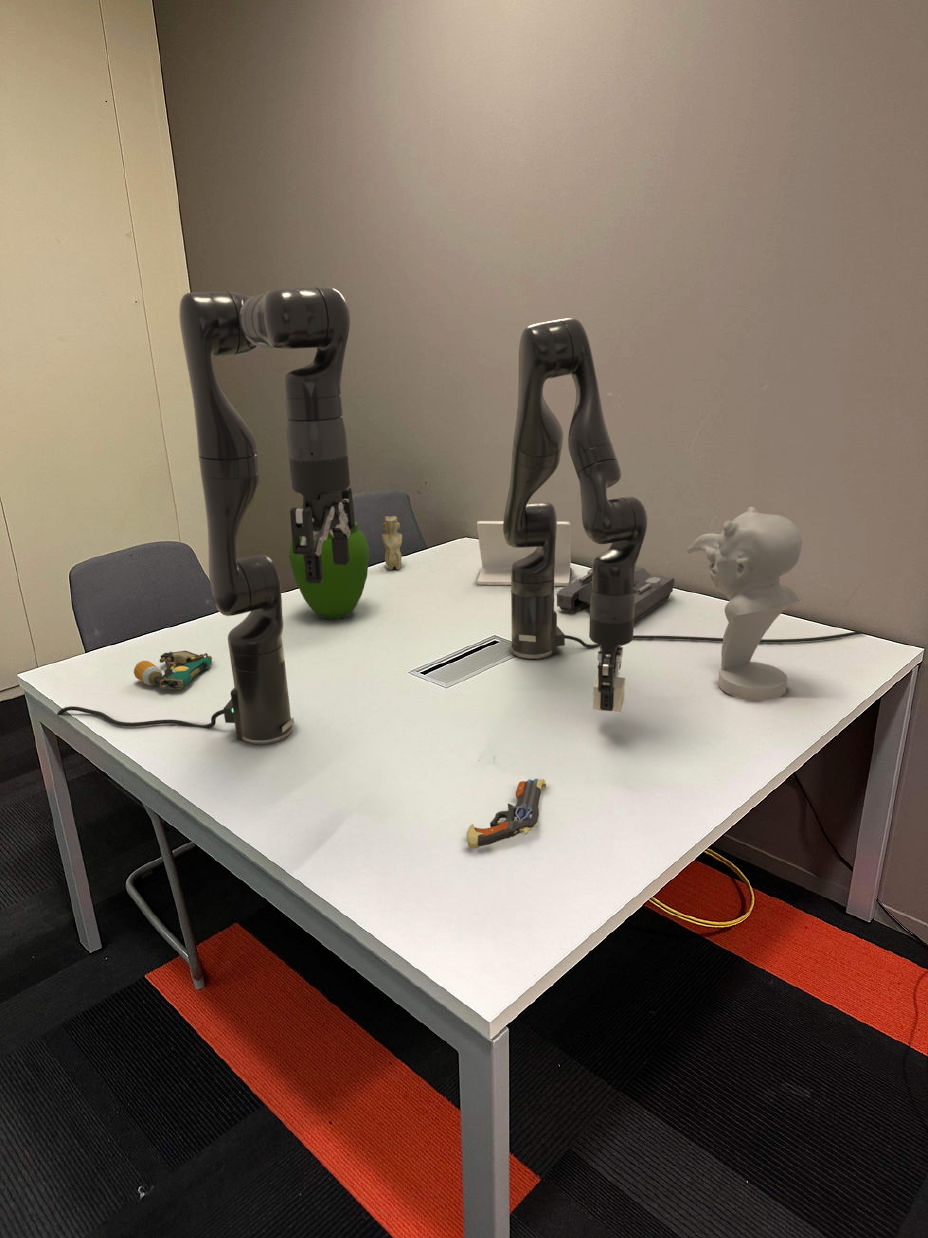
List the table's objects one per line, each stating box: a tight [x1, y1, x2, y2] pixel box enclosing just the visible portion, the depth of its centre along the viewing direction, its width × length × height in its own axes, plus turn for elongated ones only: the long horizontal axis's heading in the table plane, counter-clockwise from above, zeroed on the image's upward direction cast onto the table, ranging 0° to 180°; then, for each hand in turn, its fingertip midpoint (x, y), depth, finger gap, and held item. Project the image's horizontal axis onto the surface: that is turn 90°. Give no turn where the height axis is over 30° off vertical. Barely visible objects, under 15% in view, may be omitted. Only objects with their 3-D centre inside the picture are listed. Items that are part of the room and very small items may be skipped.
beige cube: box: [592, 674, 626, 713], centre depth 152 cm, size 5×5×5 cm
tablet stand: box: [476, 520, 572, 587], centre depth 236 cm, size 18×25×17 cm
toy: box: [556, 559, 676, 623], centre depth 212 cm, size 25×20×15 cm
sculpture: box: [381, 515, 403, 570], centre depth 247 cm, size 6×7×15 cm
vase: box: [288, 514, 370, 620], centre depth 209 cm, size 20×20×24 cm
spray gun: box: [133, 650, 213, 690], centre depth 180 cm, size 4×17×15 cm
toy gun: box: [466, 778, 547, 850], centre depth 128 cm, size 3×19×10 cm
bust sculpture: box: [686, 506, 803, 701], centre depth 166 cm, size 16×24×35 cm, turn 28°
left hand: (328, 572), depth 116 cm, fingers open, 8 cm apart
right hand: (608, 702), depth 152 cm, fingers closed on beige cube, 5 cm apart
